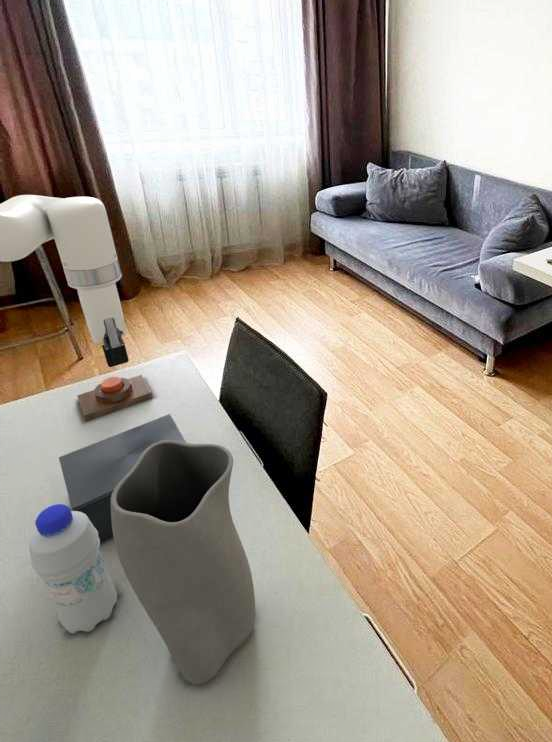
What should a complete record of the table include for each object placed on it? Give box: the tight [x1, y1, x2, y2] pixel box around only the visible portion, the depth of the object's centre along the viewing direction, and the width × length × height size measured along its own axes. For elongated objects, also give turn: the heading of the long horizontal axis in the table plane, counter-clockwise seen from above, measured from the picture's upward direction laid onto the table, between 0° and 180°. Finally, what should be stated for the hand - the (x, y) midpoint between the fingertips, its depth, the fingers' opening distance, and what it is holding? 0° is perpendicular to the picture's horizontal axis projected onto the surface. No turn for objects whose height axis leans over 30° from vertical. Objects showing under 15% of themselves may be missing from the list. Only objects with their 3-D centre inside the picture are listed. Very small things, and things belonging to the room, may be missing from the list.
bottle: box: [28, 503, 118, 634], centre depth 63 cm, size 7×7×20 cm
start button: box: [100, 376, 123, 393], centre depth 103 cm, size 4×4×2 cm
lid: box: [58, 413, 187, 511], centre depth 80 cm, size 16×13×1 cm
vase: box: [111, 440, 257, 686], centre depth 59 cm, size 12×12×30 cm
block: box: [76, 374, 153, 422], centre depth 105 cm, size 12×8×4 cm, turn 132°
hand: (118, 362), depth 90 cm, fingers closed
